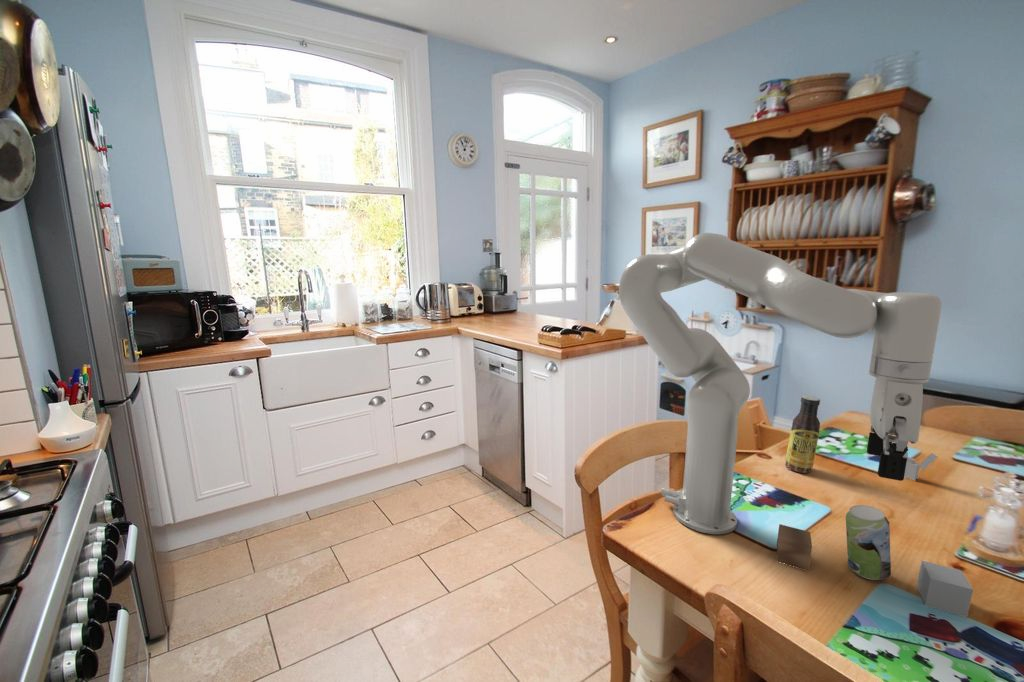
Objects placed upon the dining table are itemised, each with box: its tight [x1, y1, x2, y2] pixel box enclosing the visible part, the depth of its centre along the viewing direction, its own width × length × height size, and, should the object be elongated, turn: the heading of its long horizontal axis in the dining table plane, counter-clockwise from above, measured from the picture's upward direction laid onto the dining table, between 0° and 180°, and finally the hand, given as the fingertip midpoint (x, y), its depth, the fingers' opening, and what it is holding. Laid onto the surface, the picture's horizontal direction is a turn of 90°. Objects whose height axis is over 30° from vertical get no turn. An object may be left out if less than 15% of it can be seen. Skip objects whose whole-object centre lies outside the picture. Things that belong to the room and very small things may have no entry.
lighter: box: [904, 452, 939, 481], centre depth 114 cm, size 7×2×8 cm, turn 33°
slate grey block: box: [916, 560, 974, 618], centre depth 74 cm, size 5×5×5 cm
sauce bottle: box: [785, 395, 821, 474], centre depth 118 cm, size 7×6×20 cm
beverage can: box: [845, 504, 892, 581], centre depth 80 cm, size 6×7×12 cm
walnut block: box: [775, 523, 813, 572], centre depth 84 cm, size 5×5×5 cm
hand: (883, 466), depth 77 cm, fingers open, 9 cm apart
